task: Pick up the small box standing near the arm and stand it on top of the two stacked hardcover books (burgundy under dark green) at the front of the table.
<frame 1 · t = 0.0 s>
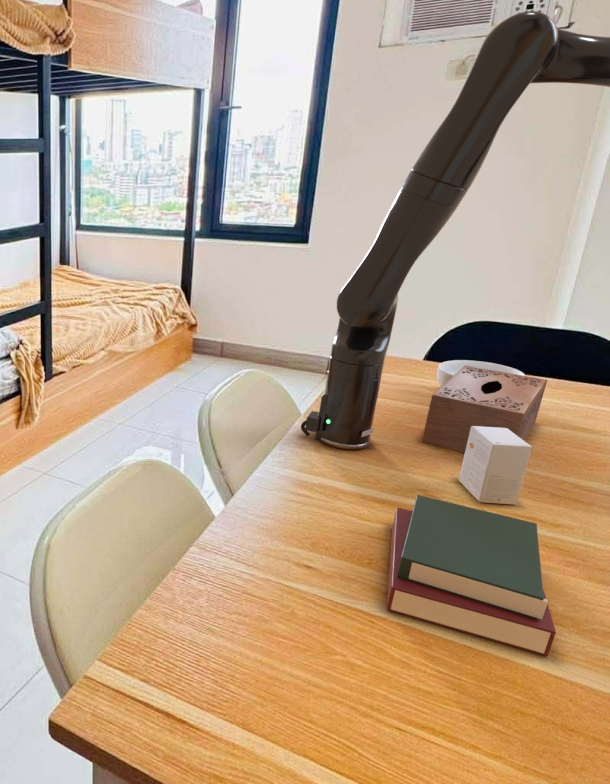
tissue box cover: (479, 433, 129), on the table
books: (458, 582, 83), on the table
cereal bowl: (473, 399, 147), on the table
small box: (485, 493, 106), on the table
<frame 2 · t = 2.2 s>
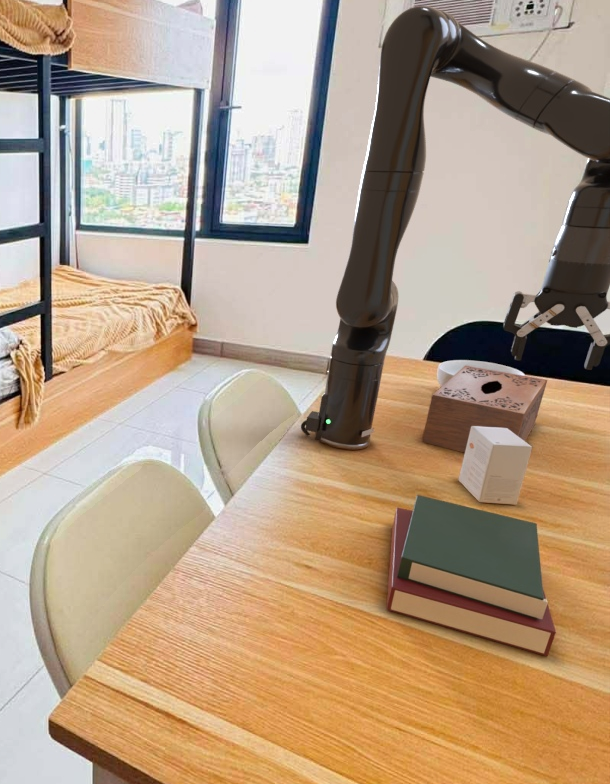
hand: (551, 363, 97), 23 cm above the table, tool pointing down, fingers open, 8 cm apart
nothing on the table moved.
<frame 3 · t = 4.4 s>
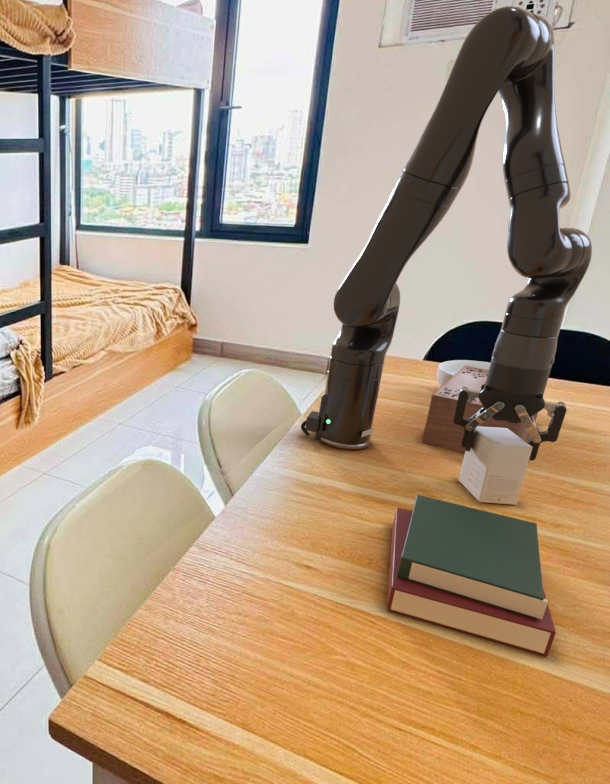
hand: (495, 455, 103), 7 cm above the table, tool pointing down, fingers closed on small box, 7 cm apart
small box: (485, 493, 106), on the table, touching gripper
everything else where it was.
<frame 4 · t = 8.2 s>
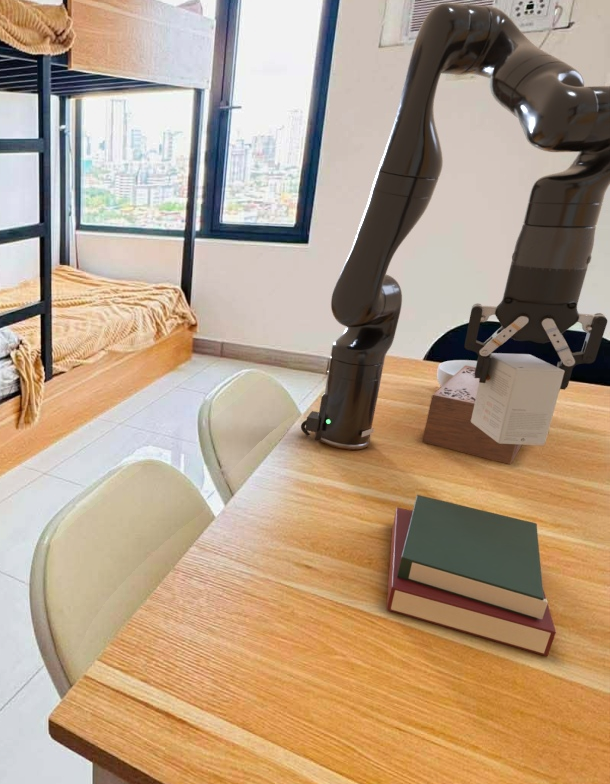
hand: (517, 386, 84), 24 cm above the table, tool pointing down, fingers closed on small box, 7 cm apart
small box: (504, 435, 86), point 17 cm above the table, touching gripper
everything else where it was.
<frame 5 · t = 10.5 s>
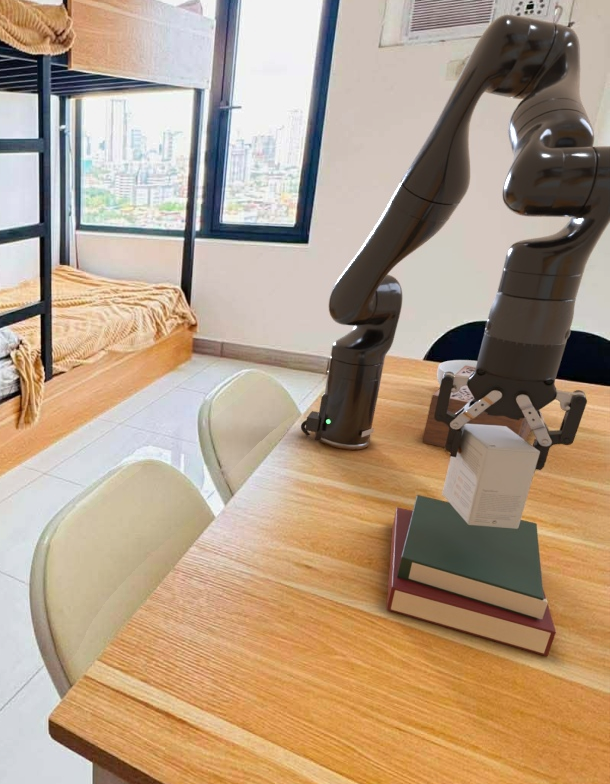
hand: (490, 462, 77), 18 cm above the table, tool pointing down, fingers closed on small box, 7 cm apart
small box: (477, 512, 80), point 11 cm above the table, touching gripper
everything else where it was.
when the fingers open (13 cm above the table, at t = 12.2 s): small box stays where it is, resting on books.
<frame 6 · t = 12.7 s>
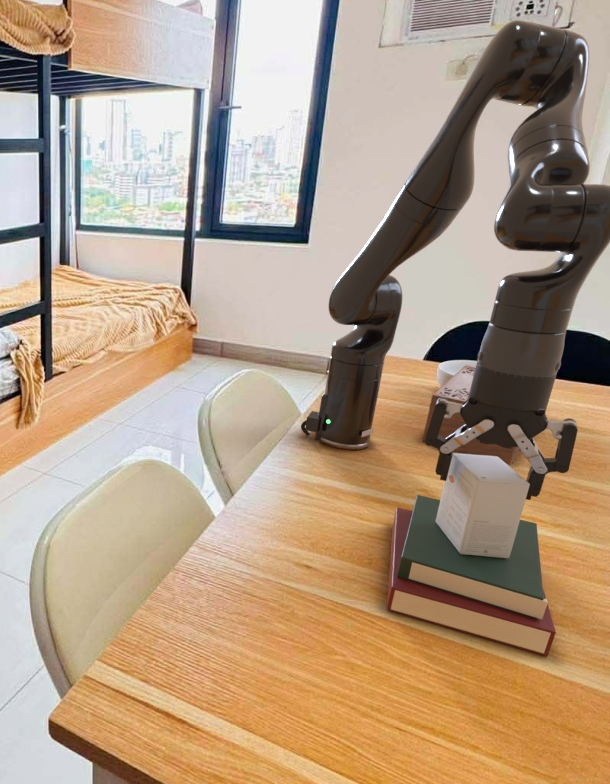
hand: (483, 487, 79), 14 cm above the table, tool pointing down, fingers open, 8 cm apart
small box: (469, 541, 81), point 6 cm above the table, touching books
everything else where it was.
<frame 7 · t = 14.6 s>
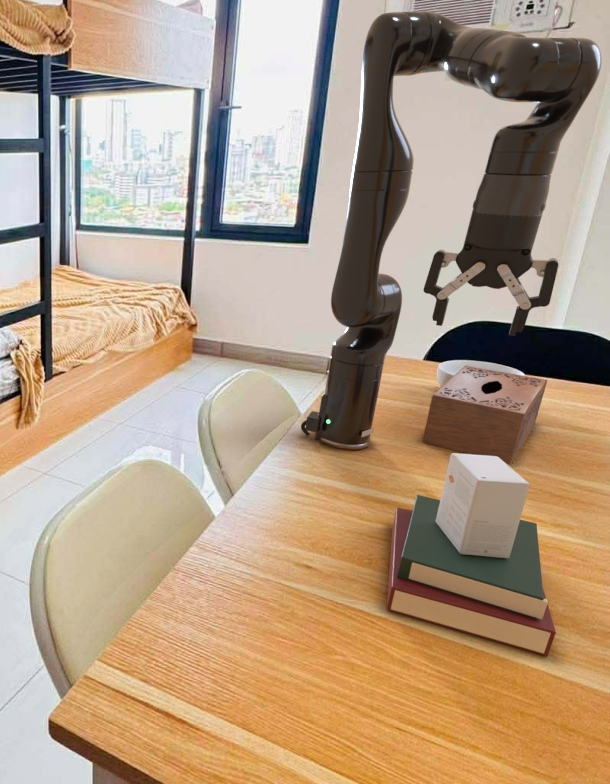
hand: (474, 329, 88), 30 cm above the table, tool pointing down, fingers open, 8 cm apart
nothing on the table moved.
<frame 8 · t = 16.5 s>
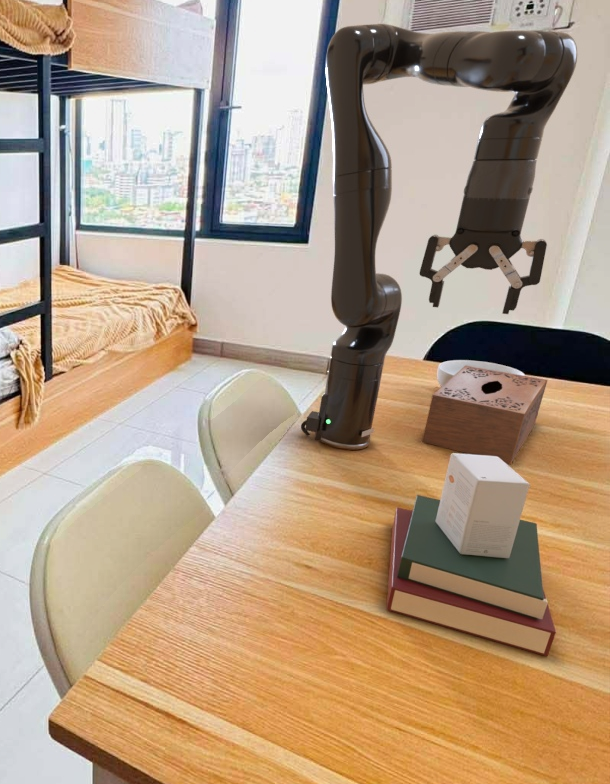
hand: (469, 309, 92), 32 cm above the table, tool pointing down, fingers open, 8 cm apart
nothing on the table moved.
at the end: small box inside the target area on the books (0.1 cm from its centre), point 6.3 cm above the books's base; small box tilted 0°; the gripper is holding nothing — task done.
